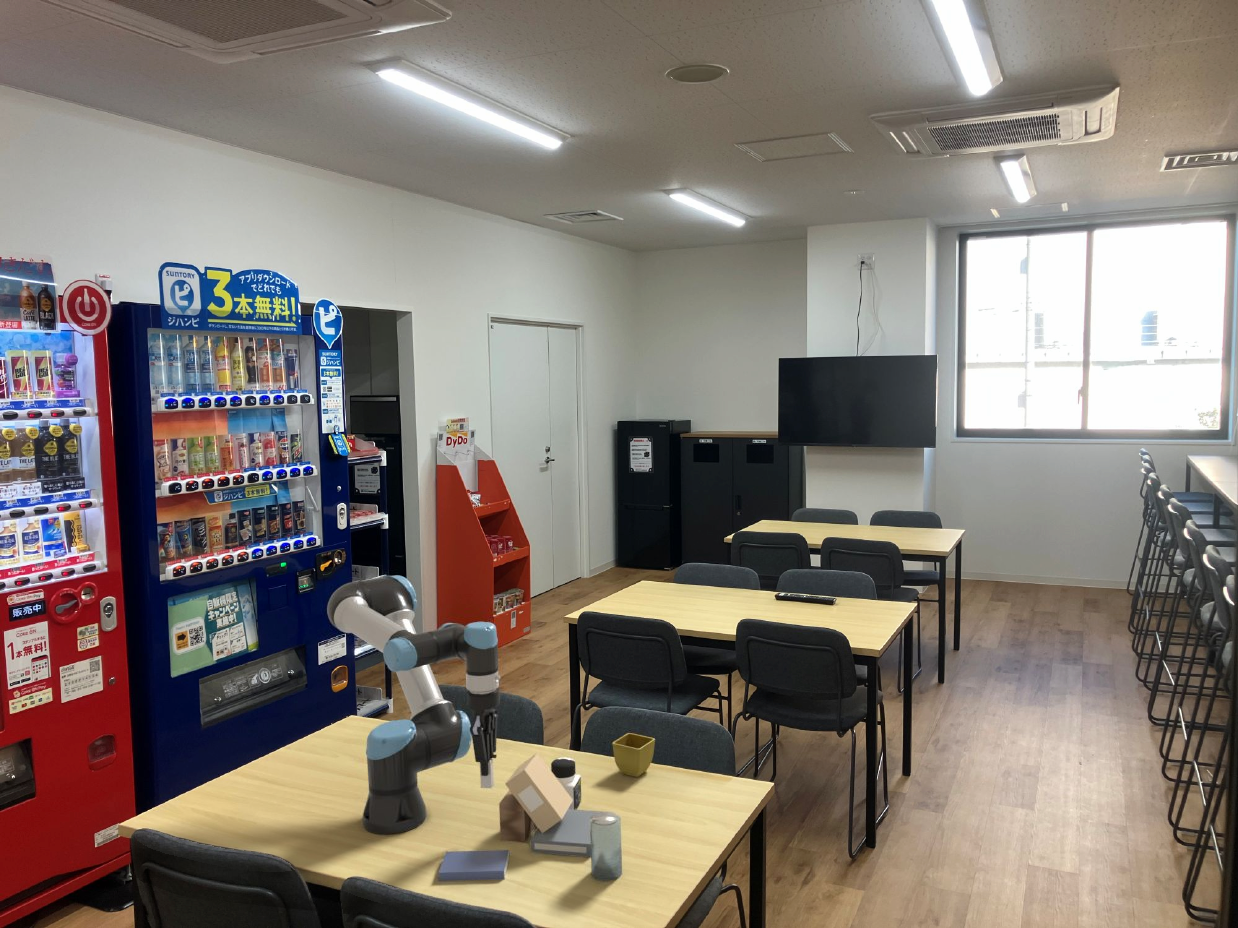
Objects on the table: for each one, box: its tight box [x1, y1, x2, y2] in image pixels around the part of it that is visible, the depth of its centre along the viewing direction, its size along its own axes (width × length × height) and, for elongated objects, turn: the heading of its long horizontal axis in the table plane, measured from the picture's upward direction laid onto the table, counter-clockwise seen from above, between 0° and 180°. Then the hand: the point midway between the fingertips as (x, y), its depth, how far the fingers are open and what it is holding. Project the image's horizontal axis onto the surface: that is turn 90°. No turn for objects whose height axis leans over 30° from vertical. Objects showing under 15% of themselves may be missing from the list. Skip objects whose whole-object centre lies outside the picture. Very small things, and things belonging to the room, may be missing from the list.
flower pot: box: [611, 732, 656, 778], centre depth 249 cm, size 9×9×9 cm
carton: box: [504, 752, 573, 833], centre depth 215 cm, size 6×10×14 cm
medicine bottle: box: [550, 757, 582, 810], centre depth 230 cm, size 7×7×12 cm
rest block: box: [498, 789, 537, 844], centre depth 216 cm, size 6×8×9 cm
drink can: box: [590, 811, 623, 882], centre depth 197 cm, size 7×7×12 cm
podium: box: [529, 809, 603, 858], centre depth 214 cm, size 14×16×3 cm
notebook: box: [438, 849, 510, 882], centre depth 201 cm, size 14×9×2 cm, turn 90°
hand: (487, 786), depth 217 cm, fingers closed
